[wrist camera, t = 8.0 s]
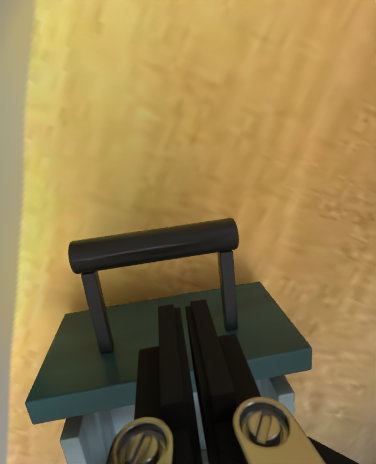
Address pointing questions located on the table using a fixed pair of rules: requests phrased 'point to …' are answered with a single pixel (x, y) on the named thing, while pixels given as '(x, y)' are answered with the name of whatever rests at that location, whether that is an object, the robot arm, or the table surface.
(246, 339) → the teal pull-out drawer
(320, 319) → the table surface
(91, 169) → the table surface
